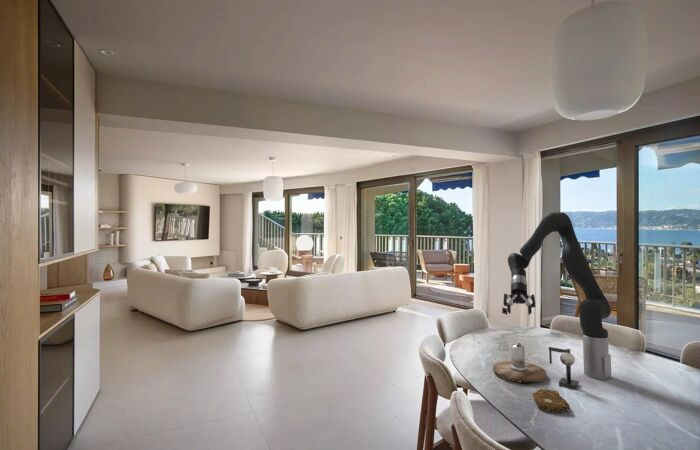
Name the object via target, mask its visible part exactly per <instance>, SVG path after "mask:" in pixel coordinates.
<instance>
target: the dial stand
mask: <svg viewBox="0 0 700 450" xmlns="http://www.w3.org/2000/svg"><path fill="white" fill-rule="evenodd" d="M548 351H549V353H548V354H549V355H548V356H549V357H548V358H549V360H548V361H549V364H551V365H552V362H553V360H552V352H556V353H560V354H561V355H560V357H559V360H560V362H561V363H562V364H563V365H564V366H565V369H566V370H565V371H566V372H565V373H566V375H565V376H566V377H560V378H561V379H560V380H559V381H558V386H559V387H562V386H564V388H567V387H568V389H571V390H577V389H578V387H579V386H580V385H579V384H580V381H579V380H577V379H572V369H571V366H572V365H574V363H575V360H576V359H575V357H574V355H573V353H571V349H570V348H565V349H564V348H558V347H552V346H549V347H548Z"/></svg>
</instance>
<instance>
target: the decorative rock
mask: <svg viewBox="0 0 700 450" xmlns="http://www.w3.org/2000/svg"><path fill="white" fill-rule="evenodd" d="M531 395H532V397H533V401H534V403H535V404H537V405H538V408H539V410H542V409H543V410H542V411H545V412H549V413H548V414H551V413H552V414H553V413H555V414H556V415H557V414H558V413H564V411H565V410H569V411H571V408H570V407H571V406H570V404H569V402H567V400H566V399H564V398H563V397H562V396H561V395H560V393H559V392H558V391H557V390H553V389H551V390H550V389H548V388H539V389H538V390H536V391H535V392H533V393H532V394H531Z"/></svg>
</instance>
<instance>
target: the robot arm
mask: <svg viewBox="0 0 700 450" xmlns="http://www.w3.org/2000/svg"><path fill="white" fill-rule="evenodd" d="M556 232H557V233H558V235H559V237H560V239H561V242H562V250H561V251H562V253H561V259H562V263H563V265H564V267H565V270H566V272H567V273H568V275H569V276H570V277H571V279H572V280H573V281H574V282H575V284H577V286H579V287H580V288H581V290H582V291H583V293H584V296H585V298H586V299H584V300H582V301H581V302H580V303H579V307H578V312H579V313H578V314H579V315H578V316H579V324H580V325H579V327H580V328H581V330H582V349H583V352H582V353H583V355H582V356H583V374H584V376H587V377H590V378H592V379H595V380H603V381H607V380H608V379H610V378H612V355H611V354H610V351H609V332H608V330H607V329H606V328H604V327H603V320H604V319H607V318H609V317H610V316H611V313H612V307H611V305H610V303H609V300H608V299H607V298H606V296H605V294H604V292H603V291H602V289H601V287H600V286H599V283H598V281H597V279H596V277H595V275H594V273H593V271H592V269H591V266H590V264H589V262H588V259H587V258H586V256H585V253H584V252H583V249H582V247H581V245H580V242H579V240H578V237H577V236H576V235H577V234H576V231H575V229H574V226H573V223H572V220H571V218H570V216H569V215H568V214H567V213H565V212H563V211H562V212H560V211H559V212H557V211H556V212H549V213H546V214H545V215H544V216H543V217H542V218H541V220H540V222H539V224H538V226H537V227H536V229H535V230H534V232H533V233H532V235H531V236H530V237H529V239H528V240H526V242H525V243H524V244H523V245H522V246H521V247H520V249H519V252H520V253H516V252H511V253H510V254H509V255H508V258H507V264H508V267H509V270H510V272H511V273H510V275H511V279H510V294H508V293H503V303H502V304H503V306H504V307H507V309H506V311H507V313H508V314H510V315H511V313H512V311H511V310H512V309H511V306H513V305H514V304H517V305H518V304H520V305H523V304H524V305H525V306H527V310H528V311H527V313H528V314H527V315H528V316H531V314H532V308H536V300H535V295H534V294H531V295H529V294H528V282H527V271H526V270H525V269H527V268H528V267H529V265H530V262H531V261H532V259H533V257H534V256H535V255H536V254H537V253H538V252H539V251H540V249H541V248H542V245H543V242H544V240H545V238H546V237H547V236H549V235H550V234H551V233H556ZM509 298H510V300H509ZM508 300H509V301H508ZM529 300H530V301H531V302H530V301H529Z"/></svg>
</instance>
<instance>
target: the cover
mask: <svg viewBox="0 0 700 450" xmlns="http://www.w3.org/2000/svg"><path fill="white" fill-rule="evenodd" d="M525 350H526V347H525V345H523V344H521V343H520V342H515V343H514V344H511V361H512V364H510V368H511V369H512V370H514V371H519V372H525V371H527V366H526V365H525V362H526V353H525V352H526V351H525Z"/></svg>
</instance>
